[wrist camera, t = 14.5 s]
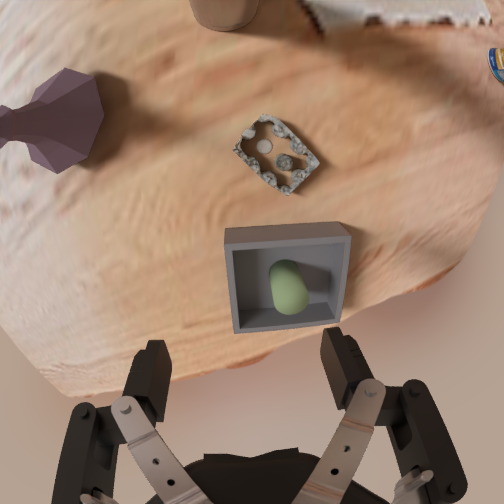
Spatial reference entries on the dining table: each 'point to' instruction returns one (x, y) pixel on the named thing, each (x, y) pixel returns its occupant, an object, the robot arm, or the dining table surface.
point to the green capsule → (288, 287)
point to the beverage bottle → (496, 62)
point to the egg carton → (280, 160)
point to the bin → (309, 264)
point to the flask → (56, 120)
